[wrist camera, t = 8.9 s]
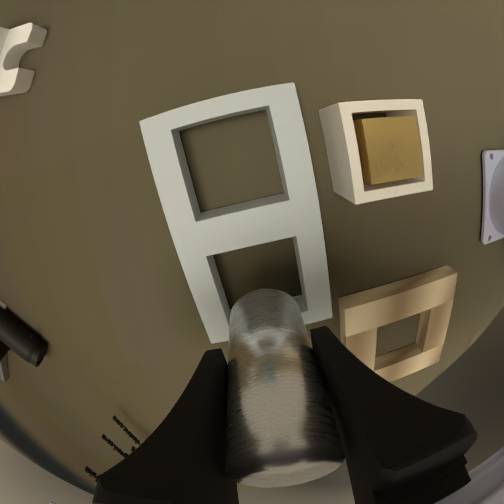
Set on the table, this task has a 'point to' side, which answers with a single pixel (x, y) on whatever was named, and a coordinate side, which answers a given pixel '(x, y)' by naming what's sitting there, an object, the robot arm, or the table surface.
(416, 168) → the key
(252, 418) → the grey rounded cylinder
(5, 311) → the submachine gun
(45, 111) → the table surface
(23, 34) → the cable organizer
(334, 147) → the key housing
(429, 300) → the wooden square frame
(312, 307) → the frame
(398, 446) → the robot arm
